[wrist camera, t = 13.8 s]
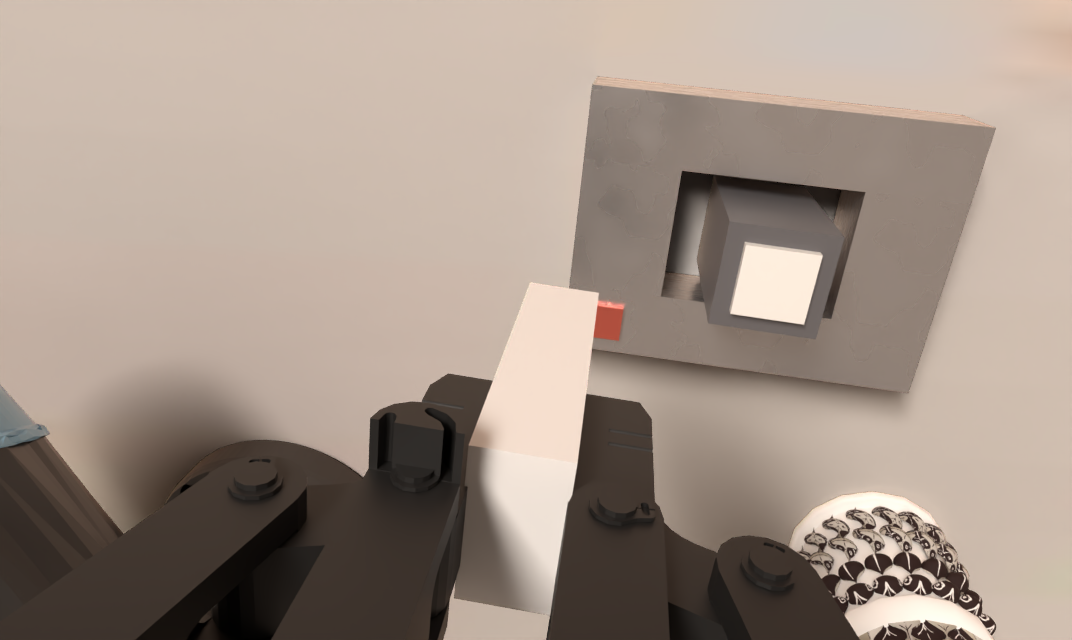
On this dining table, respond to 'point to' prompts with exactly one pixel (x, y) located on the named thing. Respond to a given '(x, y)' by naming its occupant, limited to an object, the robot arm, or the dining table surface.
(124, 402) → the dining table surface
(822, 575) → the decorative candle
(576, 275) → the socket plate
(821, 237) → the plug
